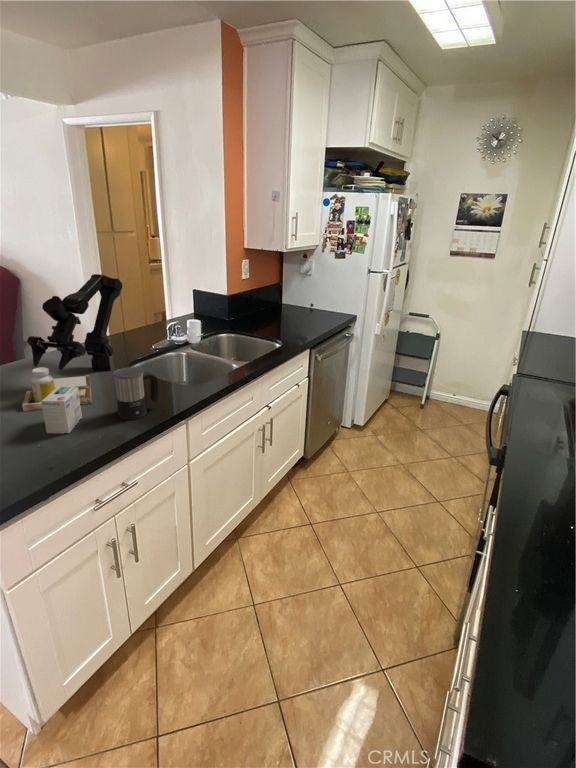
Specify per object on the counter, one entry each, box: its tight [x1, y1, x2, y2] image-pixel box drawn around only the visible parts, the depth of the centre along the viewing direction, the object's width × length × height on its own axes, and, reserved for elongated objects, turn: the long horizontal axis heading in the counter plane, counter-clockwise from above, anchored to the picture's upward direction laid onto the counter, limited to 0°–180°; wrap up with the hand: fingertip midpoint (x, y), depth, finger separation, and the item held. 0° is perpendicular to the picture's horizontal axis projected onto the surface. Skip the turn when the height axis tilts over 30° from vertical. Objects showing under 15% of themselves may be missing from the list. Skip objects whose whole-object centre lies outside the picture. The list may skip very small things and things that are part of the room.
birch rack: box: [22, 374, 92, 412], centre depth 141 cm, size 20×12×6 cm, turn 114°
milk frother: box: [112, 366, 159, 420], centre depth 137 cm, size 14×16×15 cm
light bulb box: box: [41, 387, 83, 434], centre depth 124 cm, size 11×7×11 cm, turn 5°
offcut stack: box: [78, 389, 87, 398], centre depth 144 cm, size 7×6×3 cm
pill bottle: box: [30, 366, 55, 403], centre depth 138 cm, size 6×6×12 cm
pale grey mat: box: [53, 375, 87, 388], centre depth 154 cm, size 13×13×1 cm
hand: (47, 367), depth 139 cm, fingers open, 9 cm apart
